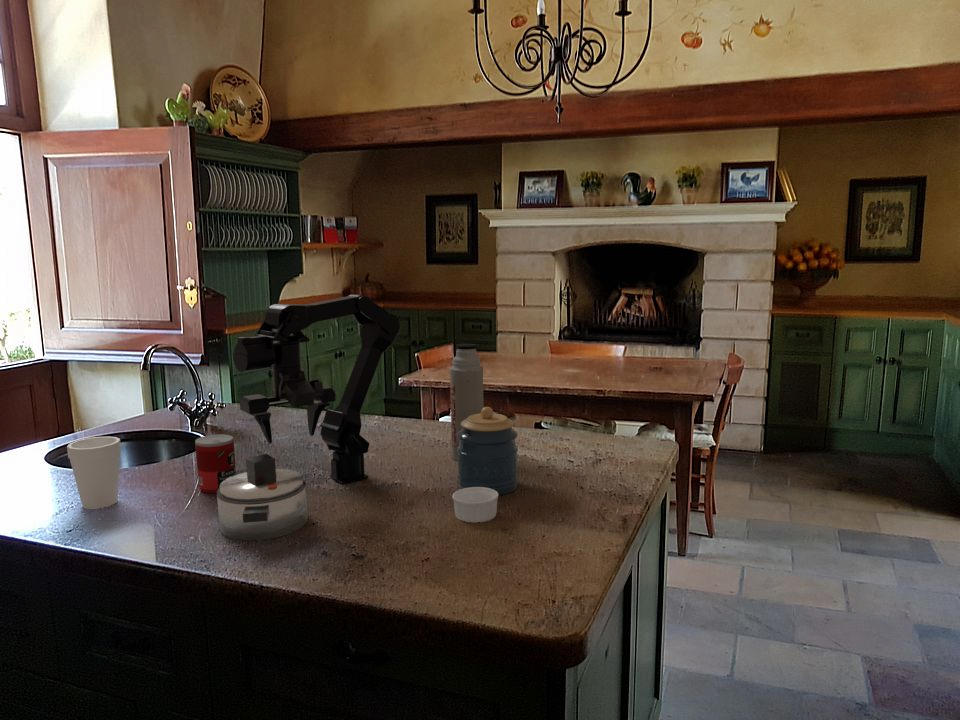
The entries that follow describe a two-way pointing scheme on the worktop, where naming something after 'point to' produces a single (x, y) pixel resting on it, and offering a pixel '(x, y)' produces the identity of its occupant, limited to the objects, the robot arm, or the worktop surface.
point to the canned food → (214, 461)
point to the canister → (487, 452)
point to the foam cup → (96, 470)
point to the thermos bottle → (464, 389)
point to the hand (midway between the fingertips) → (291, 439)
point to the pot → (262, 516)
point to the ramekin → (475, 504)
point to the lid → (261, 481)
